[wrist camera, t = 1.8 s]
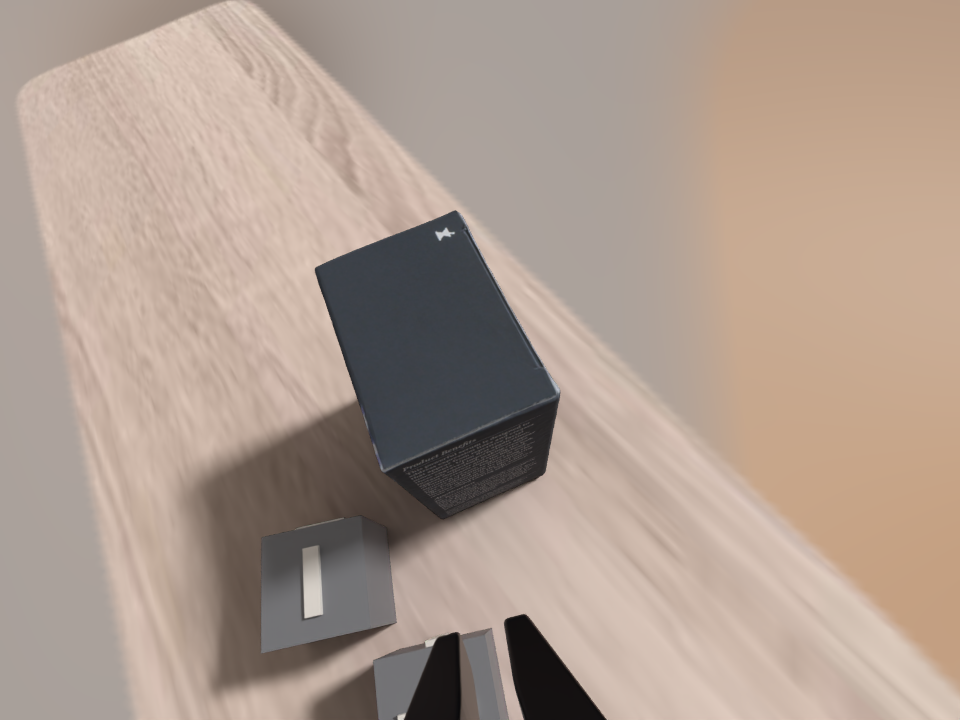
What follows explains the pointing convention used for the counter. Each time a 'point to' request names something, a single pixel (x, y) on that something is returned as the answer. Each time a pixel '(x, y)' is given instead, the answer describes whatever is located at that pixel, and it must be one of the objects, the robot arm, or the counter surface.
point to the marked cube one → (407, 664)
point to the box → (440, 366)
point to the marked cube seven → (325, 582)
